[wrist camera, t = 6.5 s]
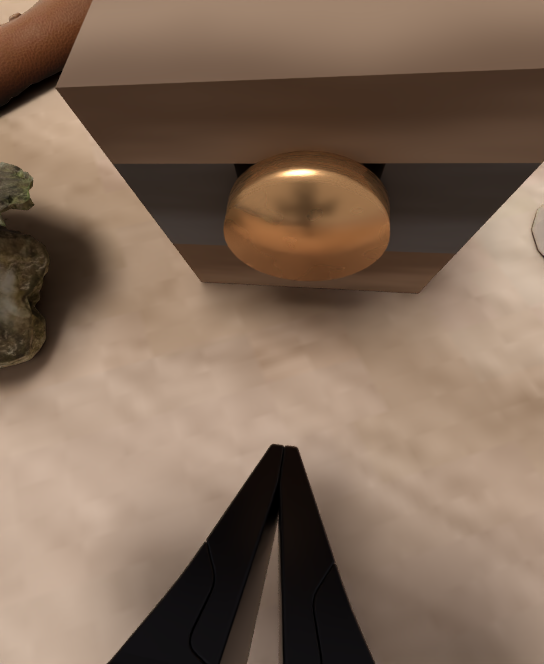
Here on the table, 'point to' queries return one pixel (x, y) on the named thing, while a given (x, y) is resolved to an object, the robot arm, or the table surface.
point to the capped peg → (308, 216)
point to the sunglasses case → (38, 43)
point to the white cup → (539, 229)
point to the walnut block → (316, 112)
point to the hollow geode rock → (19, 275)
